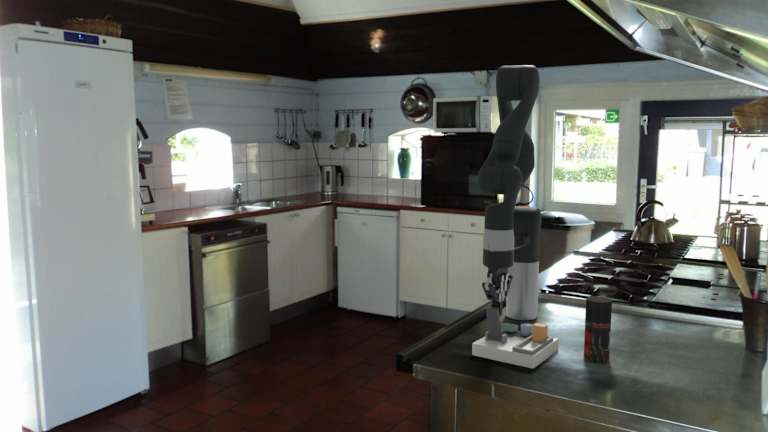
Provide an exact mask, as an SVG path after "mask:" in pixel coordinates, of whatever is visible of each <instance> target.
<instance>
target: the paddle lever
mask: <svg viewBox="0 0 768 432" xmlns="http://www.w3.org/2000/svg"><path fill="white" fill-rule="evenodd" d="M485 313H486V315H485V316H486V322H487V331H489V339H492V340H497V341H501V336H502V333H501V316H499V308H498V307H492V305H486V306H485Z"/></svg>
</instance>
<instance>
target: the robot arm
mask: <svg viewBox="0 0 768 432" xmlns="http://www.w3.org/2000/svg"><path fill="white" fill-rule="evenodd" d="M540 81H541V80H540V71H539V69H538V68H537V67H536V65H533V64H531V65H530V64H529V65H528V64H523V65H522V64H521V65H502V66H500V67H498V69H497V70H496V73H495V92H496V100H497V108H498V109H497V110H498V116H499V125H498V126H497V128H496V131H495V133H494V136H493V141H492V146H491V150H490V151H489V154H488V156H487V158H486V160H485V161H484V162H483V164H482V165H481V168H480V169H479V172H478V175H477V186H478V188H479V191H481V192H482V193H483V194H486V195H502V196H503V197H502V201H501V202H497V203H492V204H489V205H488V204H487V205H486V207H485V209H484V230H483V237H482V265H483V266H484V267H486V268H487V273H486V282H482V283H481V287H482V289H483V292H484V294H485V297H486V300H488V301H491V306H492V307H498V308H499V316H500V317H501V316H503V302H504V301H506V302H505V303H506V304H505V305H506V306H505V312H506V313H505V316H506V317H507V318H509V319H512V320H516V321H532V320H535V319H537V318H538V308H539V307H538V306H539V305H538V303H539V298H538V297H539V276H540V275H539V273H540V272H539V271H540V270H539V268H540V267H539V266H540V243H541V242H540V241H541V230H542V211H541V209H540V208H539V207H537V206H525V205H524V206H522V205H521V206H520V205H519V206H518V205H517V206H516V204H517V199H518V196H519V193H520V191H521V189H522V188H523V186H524V185H525V184H526V182H527V181H528V180H529V178H530V176H531V175H532V173H533V172H534V168H535V166H536V165H535V163H536V162H535V144H534V142H533V139H532V137H531V136H530V134H529V133H528V131H527V130H526V127H527V125H528V122H529V119H530V117H531V114H532V112H533V108H534V106H535V104H536V101H537V99H538V94H539V90H540ZM514 101H515V102H517V101H518V102H519V103H518V104H517V105H516V107H515V108H513V107H514V106H513V104H512V102H514ZM515 238H524V239H525V238H526V239H528V241H527V242H526V243H524V244H523V245H520V246H516V247H515ZM505 297H506V300H505Z"/></svg>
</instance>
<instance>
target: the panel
mask: <svg viewBox="0 0 768 432" xmlns="http://www.w3.org/2000/svg"><path fill="white" fill-rule="evenodd" d="M501 333H502V336H501V341H497V340H492V339H489V331H488V330H487V331H485V333H484V336H482V338H480V339H479V338H478V340H475V341H474V342H472V344H471V346H472V347H471V353H472V354H471V355H472V356H475V357H479V358H484V359H488V360H493V361H498V362H502V363H506V364H510V365H516V366H520V367H524V368H528V369H532V370H533V369H535V368H537V366H539V365H540V364H542V363H544V361H546V360H547V359H548V358H550V357H551V356H552V355H554V354H555V353H556V352H558V351H559V338H557V337H553V336H551V335H547V340H545V341H544V342H537V341H532V335H531V336H523V335H521V334H520V330H518V331H515V332H509V331H504V330H501Z"/></svg>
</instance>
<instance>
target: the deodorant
mask: <svg viewBox="0 0 768 432" xmlns="http://www.w3.org/2000/svg"><path fill="white" fill-rule="evenodd" d="M585 299H586V300H585V318H584V319H585V321H584V322H585V323H584V338H583V339H584V341H583V342H584V343H583V346H584V347H583V359H584V361H586V362H587V363H591V364H597V365H600V364H601V365H602V364H607V363H609V362H610V351H611V332H612V329H611V328H612V313H613V307H612V306H613V300H612V299H611V298H609V297H605V296H598V295H591V296H588V297H586V298H585Z"/></svg>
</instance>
